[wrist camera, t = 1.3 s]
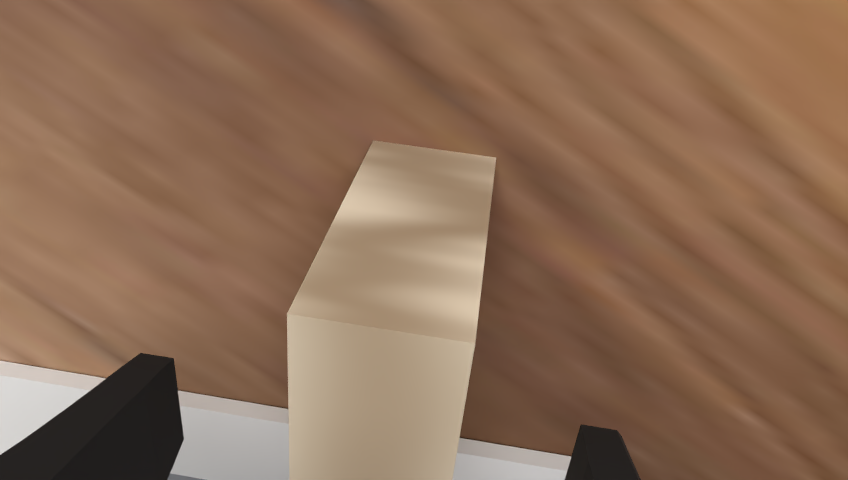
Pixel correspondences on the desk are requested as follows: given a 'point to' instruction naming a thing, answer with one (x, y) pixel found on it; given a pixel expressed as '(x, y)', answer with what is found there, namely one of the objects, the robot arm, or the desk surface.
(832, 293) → the desk surface
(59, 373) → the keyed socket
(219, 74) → the desk surface
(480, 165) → the key block
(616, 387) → the desk surface
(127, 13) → the desk surface
